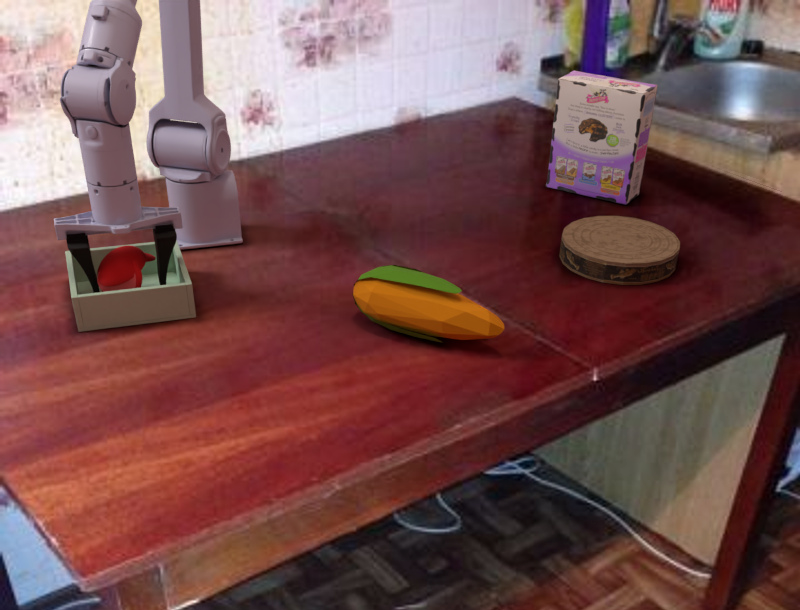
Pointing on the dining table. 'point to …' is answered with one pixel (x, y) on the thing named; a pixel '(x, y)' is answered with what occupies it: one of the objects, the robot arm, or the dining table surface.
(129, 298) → the bin
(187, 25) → the robot arm
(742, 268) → the dining table surface
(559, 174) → the candy box
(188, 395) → the dining table surface
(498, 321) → the corn
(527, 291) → the dining table surface
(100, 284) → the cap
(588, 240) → the tin can
